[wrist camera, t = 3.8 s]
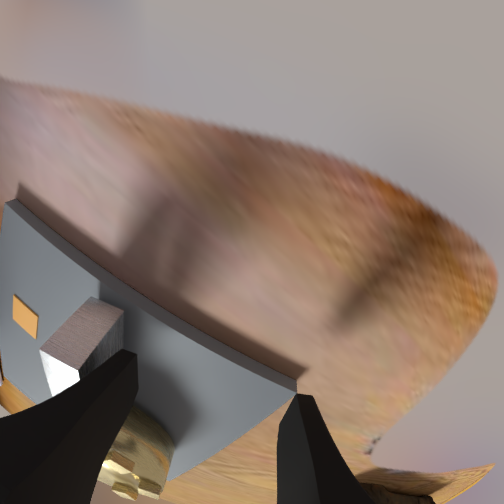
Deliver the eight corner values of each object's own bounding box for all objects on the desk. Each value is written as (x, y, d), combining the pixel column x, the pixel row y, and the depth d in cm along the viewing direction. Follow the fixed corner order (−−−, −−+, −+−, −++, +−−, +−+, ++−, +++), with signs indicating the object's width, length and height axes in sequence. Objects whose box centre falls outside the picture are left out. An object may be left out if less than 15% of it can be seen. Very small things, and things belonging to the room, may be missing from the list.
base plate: (8, 370, 16) (3, 376, 15) (15, 198, 10) (3, 203, 9) (171, 473, 18) (168, 482, 17) (296, 380, 12) (297, 394, 12)
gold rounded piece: (170, 471, 15) (157, 515, 12) (71, 429, 15) (50, 467, 11) (202, 337, 10) (173, 422, 7) (36, 270, 10) (-24, 315, 6)
